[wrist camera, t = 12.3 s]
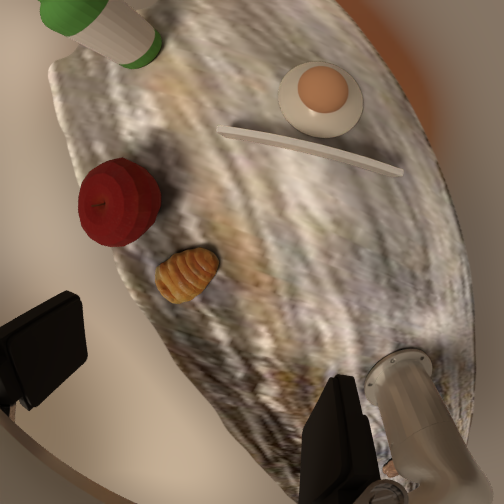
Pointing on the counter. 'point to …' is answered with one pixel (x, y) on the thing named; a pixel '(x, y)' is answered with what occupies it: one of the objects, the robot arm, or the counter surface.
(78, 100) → the counter surface
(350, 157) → the wall
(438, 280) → the counter surface
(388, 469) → the shell
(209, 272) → the pastry
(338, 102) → the ball
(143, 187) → the apple
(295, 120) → the saucer
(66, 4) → the wine bottle
